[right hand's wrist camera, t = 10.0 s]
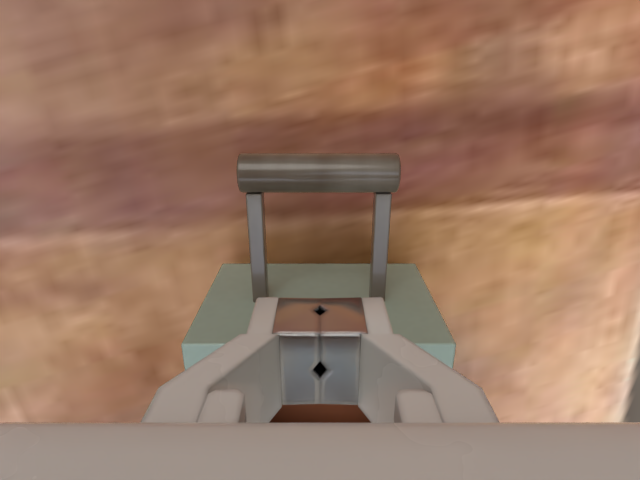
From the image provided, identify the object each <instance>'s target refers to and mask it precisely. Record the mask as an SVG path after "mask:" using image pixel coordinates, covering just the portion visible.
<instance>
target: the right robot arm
mask: <svg viewBox="0 0 640 480" xmlns="http://www.w3.org/2000/svg"><path fill="white" fill-rule="evenodd" d="M298 404H342V405H358V407H359V408H360V409H361V411H362V412H363V413H364V414H365V416H366V417H367V418H368V419H369V420H370V422H371V423H269V422H270V421H271V420H272V418H273V417H274V416H275V415H276V413H277V412H278V411H279V410H280V409H281V407H282V405H298ZM0 480H640V423H500V422H499V420H498V419H497V417H496V415H495V413H494V411H493V409H492V407H491V405H490V403H489V401H488V399H487V397H486V395H485V393H484V391H483V390H482V388H481V387H479V386H478V385H476V384H475V383H473V382H472V381H470V380H469V379H467V378H466V377H464V376H463V375H461V374H460V373H458V372H457V371H455V370H454V369H452V368H450V367H449V366H447V365H446V364H444V363H443V362H441V361H440V360H438V359H437V358H435V357H434V356H432V355H431V354H429V353H428V352H426V351H425V350H423V349H422V348H420V347H419V346H417V345H416V344H414V343H413V342H411V341H410V340H408V339H407V338H405V337H403V336H402V335H400V334H393V330H392V327H391V323H390V320H389V316H388V313H387V310H386V306H385V303H384V299H383V298H382V297H367V298H361V297H354V298H285V297H280V298H278V297H259V298H257V299H256V302H255V306H254V309H253V313H252V316H251V320H250V323H249V327H248V330H247V333H246V334H240V335H238V336H237V337H235V338H233V339H232V340H230V341H229V342H227V343H226V344H224V345H223V346H221V347H220V348H218V349H217V350H215V351H214V352H212V353H211V354H209V355H208V356H206V357H205V358H203V359H201V360H200V361H198V362H197V363H195V364H194V365H192V366H191V367H189V368H188V369H186V370H185V371H183V372H182V373H180V374H179V375H177V376H176V377H174V378H173V379H171V380H169V381H168V382H166V383H165V384H163V385H162V386H160V387H159V388H158V390H157V392H156V394H155V396H154V398H153V400H152V401H151V403H150V405H149V407H148V409H147V411H146V413H145V415H144V417H143V419H142V420H141V422H140V423H0Z"/></svg>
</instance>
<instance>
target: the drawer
mask: <svg viewBox="0 0 640 480" xmlns="http://www.w3.org/2000/svg"><path fill="white" fill-rule="evenodd" d="M400 175H401V165H400V158H399V155H398V154H239V156H238V160H237V182H238V187H239V190H240V191H241V192H243V193H247V194H246V205H247V220H248V235H249V250H250V264H222V266H221V268H220V270H219V272H218V274H217V276H216V278H215V280H214V282H213V284H212V286H211V288H210V290H209V292H208V294H207V296H206V298H205V299H204V301H203V303H202V305H201V307H200V309H199V311H198V313H197V315H196V317H195V319H194V321H193V323H192V325H191V327H190V329H189V331H188V332H187V334H186V336H185V338H184V340H183V342H182V352H183V359H184V366H185V370H186V369H188V368H189V367H191V366H192V365H194V364H195V363H197V362H198V361H200V360H201V359H203V358H205V357H206V356H208V355H209V354H211V353H212V352H214V351H215V350H217V349H218V348H220V347H221V346H223V345H224V344H226V343H227V342H229V341H230V340H232V339H233V338H235V337H237V336H238V335H240V334H246V333H247V330H248V327H249V323H250V320H251V316H252V313H253V309H254V306H255V302H256V299H257V298H259V297H278V298H280V297H285V298H354V297H361V298H367V297H382V298H383V299H384V303H385V306H386V310H387V313H388V316H389V320H390V323H391V327H392V330H393V334H400V335H402V336H403V337H405V338H407V339H408V340H410V341H411V342H413V343H414V344H416V345H417V346H419V347H420V348H422V349H423V350H425V351H426V352H428V353H429V354H431V355H432V356H434V357H435V358H437V359H438V360H440V361H441V362H443V363H444V364H446V365H447V366H449V367H450V368H452V369H453V362H454V355H455V348H456V343H455V341H454V339H453V337H452V335H451V333H450V331H449V330H448V328H447V326H446V324H445V322H444V320H443V318H442V316H441V314H440V312H439V310H438V308H437V306H436V304H435V302H434V300H433V298H432V296H431V294H430V292H429V290H428V288H427V286H426V284H425V282H424V280H423V278H422V277H421V275H420V273H419V271H418V269H417V267H416V265H415V264H387V259H388V243H389V228H390V213H391V197H392V195H391V193H395V192H397V191H398V188H399V184H400ZM264 193H374V200H373V220H372V241H371V261H370V264H267V249H266V229H265V209H264ZM269 423H371V422H370V420H369V419H368V418H367V417H366V416H365V414H364V413H363V412H362V411H361V409H360V408H359V407H358V405H342V404H298V405H282V407H281V409H280V410H279V411H278V412H277V413H276V415H275V416H274V417H273V418H272V420H271V421H270V422H269Z"/></svg>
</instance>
